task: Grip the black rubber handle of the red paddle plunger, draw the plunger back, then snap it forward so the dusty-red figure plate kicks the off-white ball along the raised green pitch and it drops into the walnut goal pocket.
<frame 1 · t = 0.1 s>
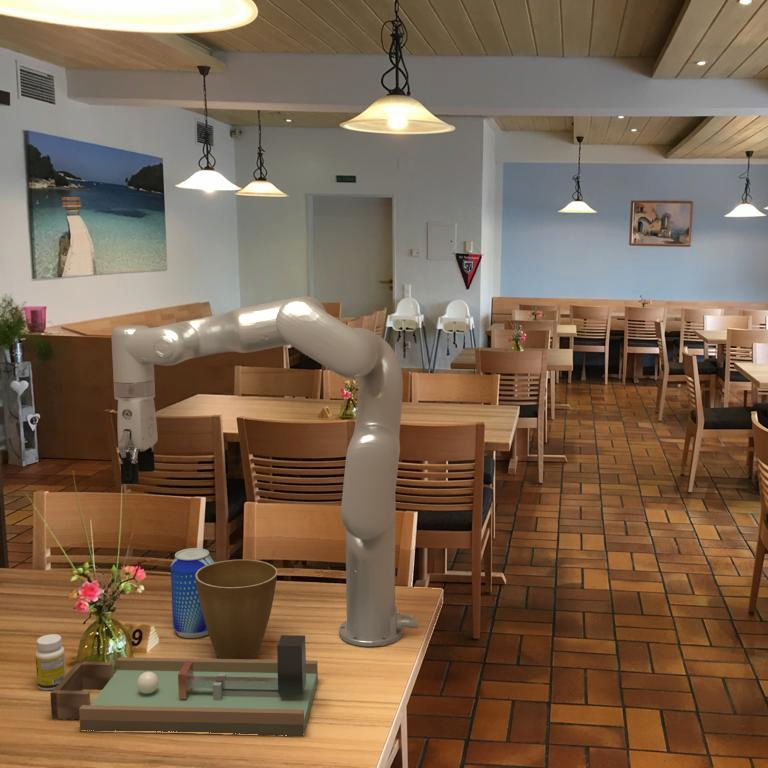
hand: (138, 477, 171), 31 cm above the table, tool pointing down, fingers open, 9 cm apart
plant pot: (239, 655, 164), on the table
ball: (148, 682, 145), point 4 cm above the table, touching pitch
supplement bottle: (52, 685, 153), on the table
beer can: (195, 632, 175), on the table
pitch: (187, 704, 146), on the table
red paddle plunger: (242, 666, 144), point 7 cm above the table, slide at 0.0 cm
goal: (83, 702, 146), on the table
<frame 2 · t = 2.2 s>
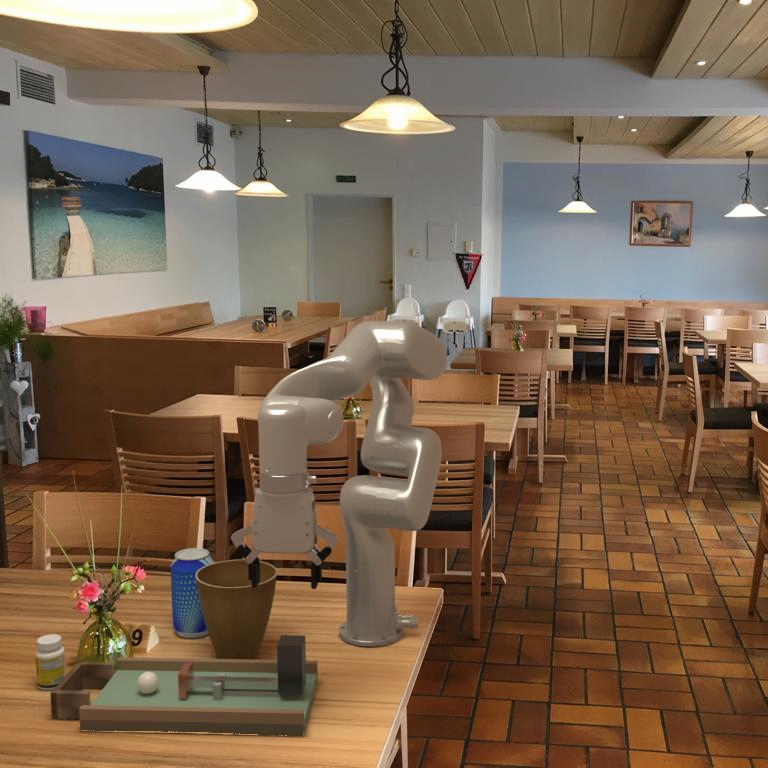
hand: (285, 585, 142), 21 cm above the table, tool pointing down, fingers open, 9 cm apart
nothing on the table moved.
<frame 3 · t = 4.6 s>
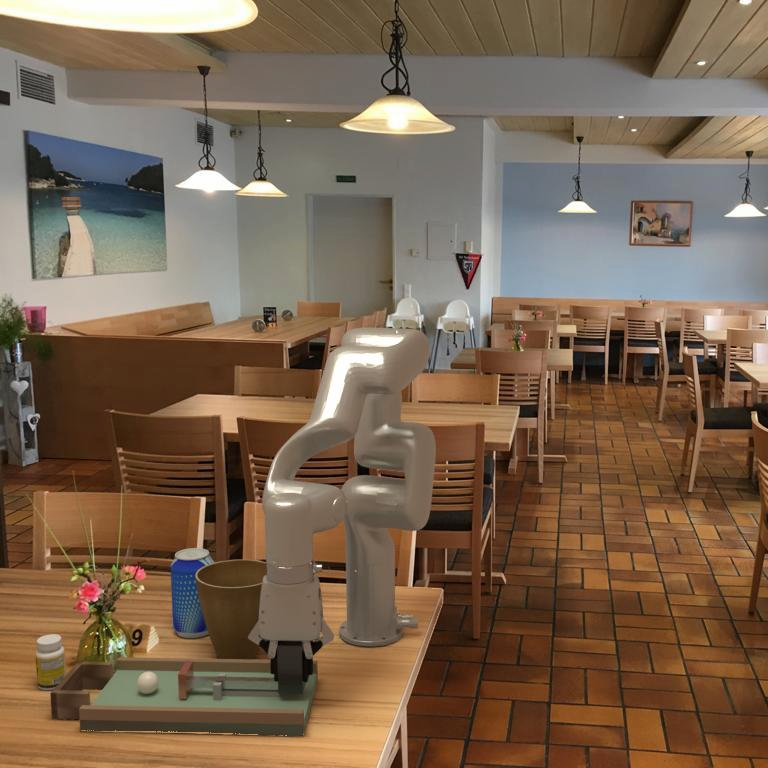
hand: (292, 677, 144), 5 cm above the table, tool pointing down, fingers closed on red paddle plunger, 4 cm apart
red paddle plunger: (242, 666, 144), point 7 cm above the table, slide at 0.0 cm, touching gripper
everything else where it was.
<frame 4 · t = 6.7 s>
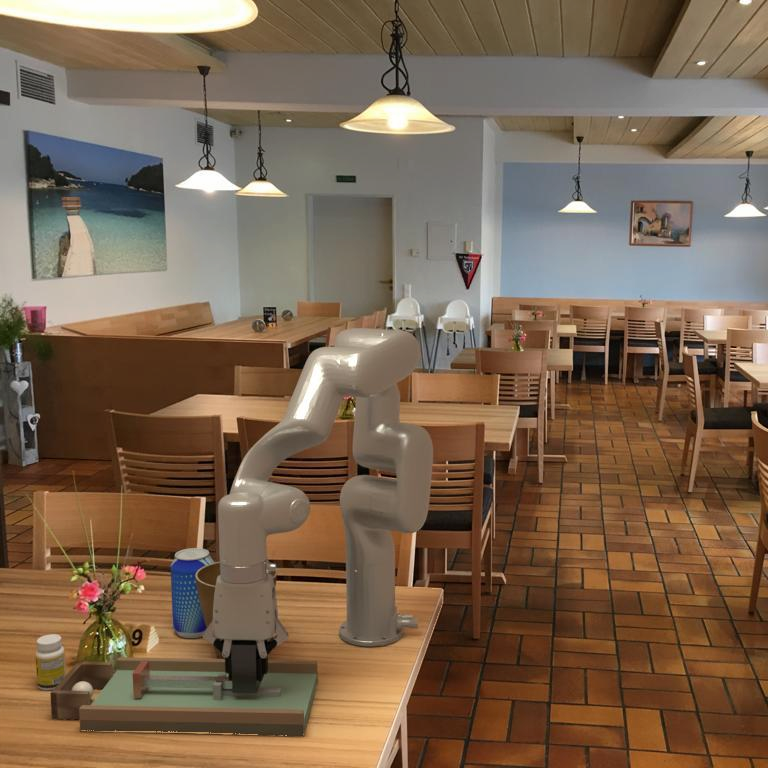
hand: (246, 676, 144), 5 cm above the table, tool pointing down, fingers closed on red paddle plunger, 4 cm apart
ball: (81, 692, 146), point 2 cm above the table, tilted 8°
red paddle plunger: (197, 665, 144), point 7 cm above the table, slide at 7.5 cm, touching gripper
everything else where it was.
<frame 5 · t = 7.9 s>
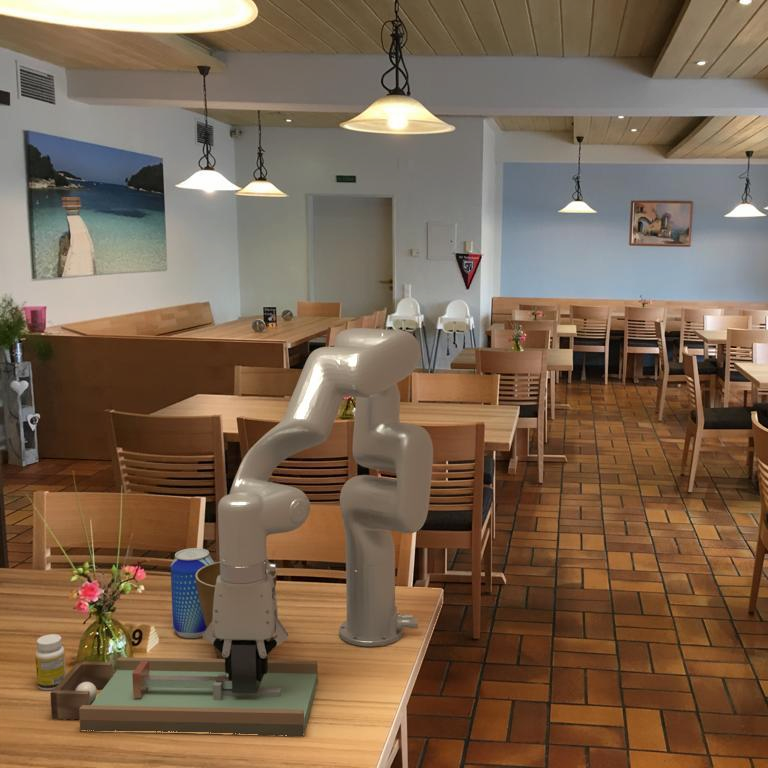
hand: (246, 676, 144), 5 cm above the table, tool pointing down, fingers closed on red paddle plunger, 4 cm apart
ball: (85, 692, 146), point 2 cm above the table, tilted 7°
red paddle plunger: (197, 665, 144), point 7 cm above the table, slide at 7.5 cm, touching gripper
everything else where it was.
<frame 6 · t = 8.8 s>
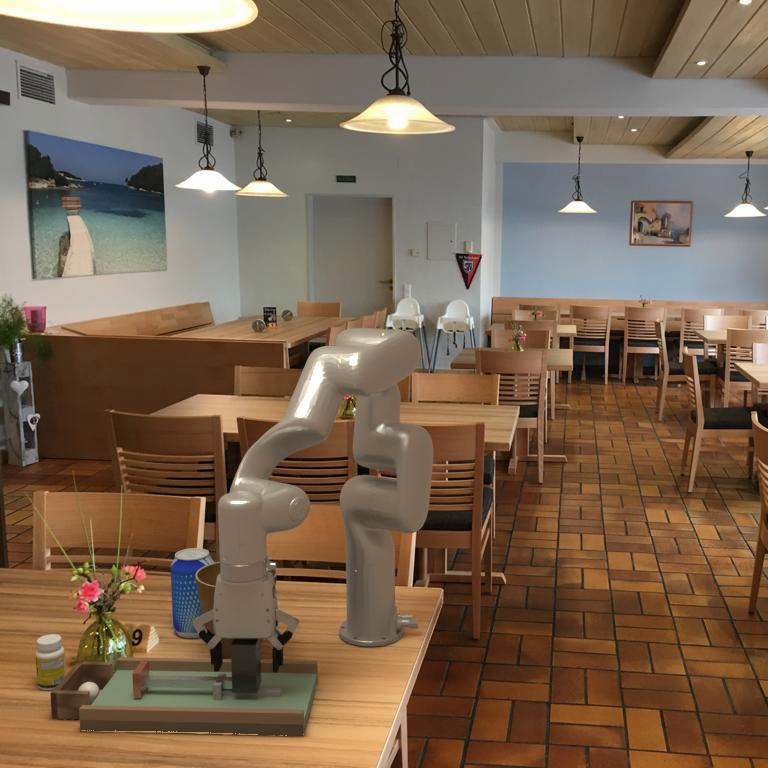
hand: (247, 668, 144), 6 cm above the table, tool pointing down, fingers open, 9 cm apart
ball: (88, 692, 146), point 2 cm above the table, tilted 22°
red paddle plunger: (197, 665, 144), point 7 cm above the table, slide at 7.5 cm
everything else where it was.
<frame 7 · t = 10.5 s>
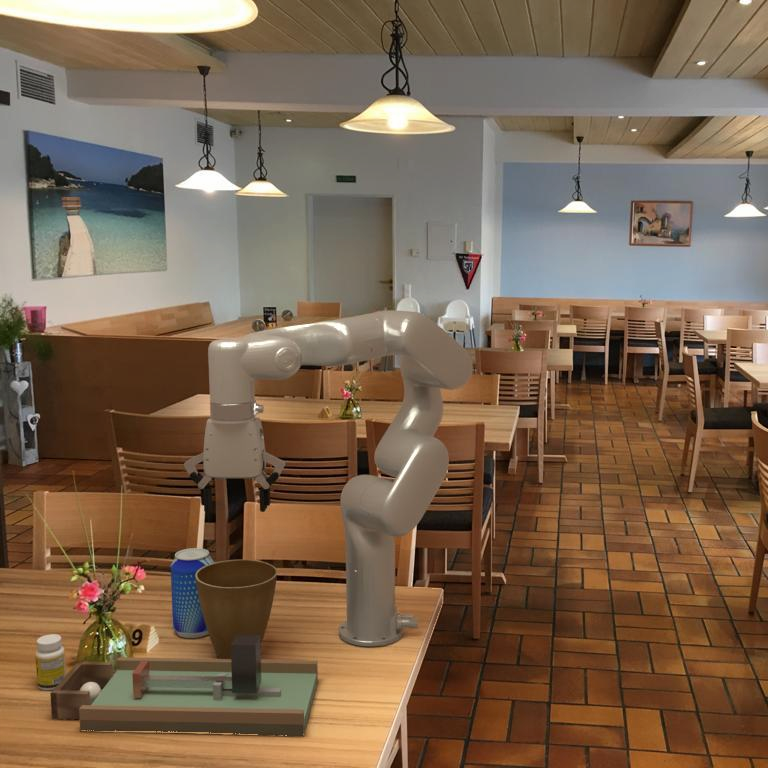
hand: (236, 509, 152), 30 cm above the table, tool pointing down, fingers open, 9 cm apart
ball: (90, 692, 146), point 2 cm above the table, tilted 32°
everything else where it was.
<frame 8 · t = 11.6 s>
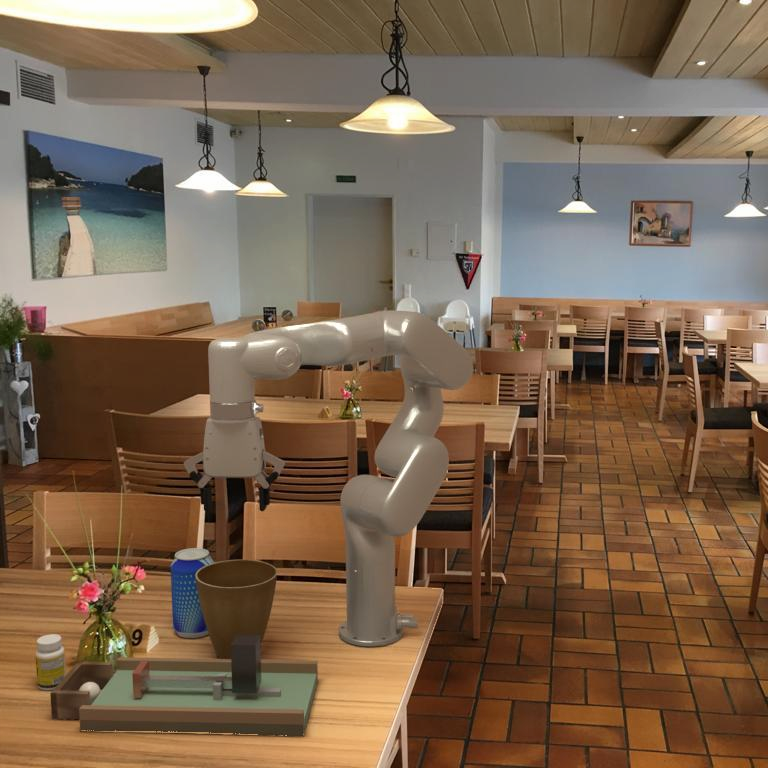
hand: (235, 508, 152), 30 cm above the table, tool pointing down, fingers open, 9 cm apart
nothing on the table moved.
at the end: ball inside the target area (0.8 cm from its centre), point 1.7 cm above the table; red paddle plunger slide at 7.5 cm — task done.
